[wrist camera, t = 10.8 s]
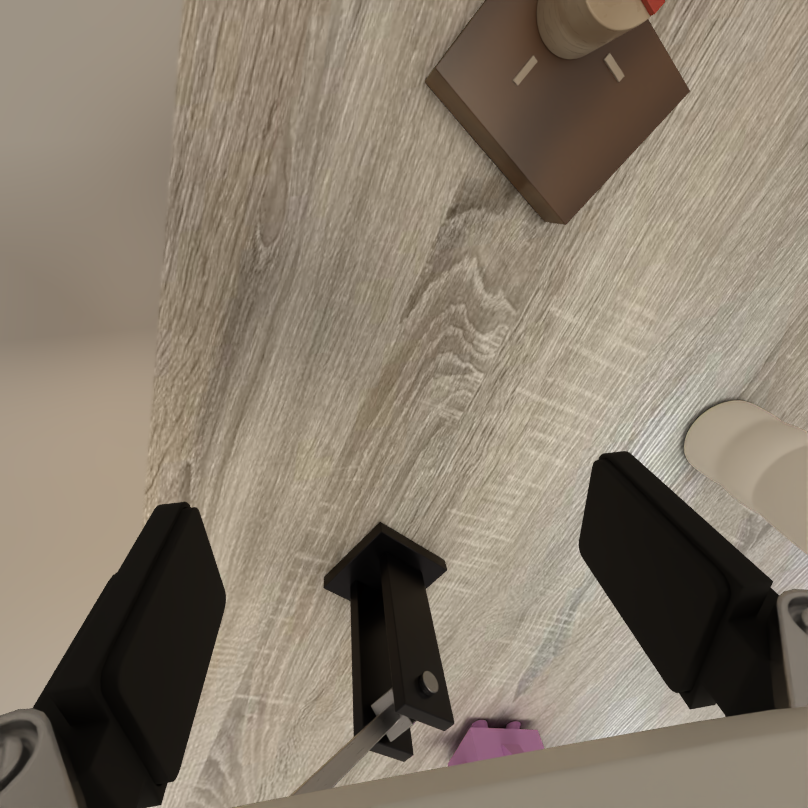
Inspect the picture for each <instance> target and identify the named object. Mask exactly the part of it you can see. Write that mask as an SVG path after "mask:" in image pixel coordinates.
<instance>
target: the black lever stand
mask: <svg viewBox="0 0 808 808" xmlns="http://www.w3.org/2000/svg"><path fill="white" fill-rule="evenodd" d="M446 571H447V568H446V564H445V561H444V560H443V559H441V558H439V557H438V556H436V555H434V554H433V553H431V552H429V551H428V550H426V549H424V548H423V547H421V546H419V545H418V544H416V543H414V542H413V541H411V540H409V539H408V538H406V537H404V536H403V535H401V534H399V533H397V532H396V531H394V530H392V529H391V528H389V527H387V526H386V525H384V524H382V523H381V522H380V523H379V524H378V525H377V526H376V527H375V528H374V529H373V530H372V531H371V532H370V533H369V534H368V535H367V536H366V537H365V538H364V539H363V540H362V541H361V542H360V543H359V544H358V545H357V546H356V547H355V548H354V549H353V550H352V551H351V552H350V553H349V554H348V555H347V556H346V557H345V558H344V559H343V560H342V561H341V562H340V563H338V564H337V565H336V566H335V567H334V568H333V569H332V570H331V571H330V572H329V573H328V574H327V575H326V576H325V577H324V588H325V589H327V590H329V591H331V592H333V593H335V594H337V595H339V596H341V597H343V598H345V599H347V600H349V601H350V603H351V643H352V684H353V724H354V737H355V736H356V735H357V734H358V733H359V732H360V731H361V730H362V729H363V728H364V727H366V726H367V725H368V724H369V723H370V722H371V721H372V720H373V719H374V718H375V717H376V715H375V713H374V711H373V709H372V707H371V705H372V704H373V703H374V702H375V701H377V700H378V699H379V698H380V697H381V696H382V695H384V694H385V693H386V692H387V691H388V690H390V689H391V688H393V698H394V707H395V712H396V713H398V714H401V715H403V716H406V717H409V718H411V719H414V720H416V721H419V722H422V723H424V724H427V725H430V726H432V727H435V728H437V729H440V730H443V731H446V730H447V729H448V728H450V727H451V726H452V725H453V724H454V718H453V714H452V709H451V705H450V700H449V695H448V691H447V686H446V681H445V677H444V672H443V667H442V663H441V658H440V653H439V649H438V644H437V640H436V635H435V630H434V626H433V621H432V616H431V612H430V607H429V602H428V598H427V593H426V588H428V587H429V586H430V585H431V584H432V583H433V582H434V581H435V580H437V579H438V578H439V577H440V576H441V575H442V574H443V573H444V572H446ZM369 751H372V752H375V753H379V754H382V755H385V756H388V757H391V758H394V759H397V760H400V761H403V762H405V761H406V760H407V759H409V758H410V757H411V756H413V747H412V739H411V731H410V728H408V729H407V730H406V731H405V732H403V733H402V734H401V735H399V736H398V737H397V738H396V739H394V740H393V741H392V742H390V740H389V738H388V737H387V735H386V734H385V735H384V736H383V737H382V738H381V739H380V740H379V741H378V742H377V743H376V744H375V745H374V746H373V747H372V748H371V749H370V750H369Z"/></svg>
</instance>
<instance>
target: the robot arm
mask: <svg viewBox="0 0 808 808" xmlns="http://www.w3.org/2000/svg"><path fill="white" fill-rule="evenodd" d="M579 550H580V553H581V556H582V558H583V559H584V561H585V562H586V564H587V565H588V567H589V568H590V570H591V571H592V573H593V575H594V576H595V578H596V579H597V581H598V582H599V584H600V585H601V587H602V588H603V590H604V591H605V593H606V594H607V596H608V597H609V599H610V600H611V602H612V603H613V605H614V606H615V608H616V609H617V611H618V612H619V614H620V615H621V617H622V618H623V620H624V621H625V623H626V624H627V626H628V627H629V629H630V630H631V632H632V633H633V635H634V636H635V638H636V639H637V641H638V642H639V644H640V645H641V647H642V648H643V650H644V651H645V653H646V654H647V656H648V657H649V659H650V660H651V662H652V663H653V665H654V666H655V668H656V669H657V671H658V672H659V674H660V675H661V677H662V678H663V680H664V681H665V683H666V684H667V686H668V687H669V688H670V689H671V690H672V691H673V692H676V693H678V692H679V694H680V695H681V697H682V698H683V700H684V701H685V703H686V704H687V706H688V707H689V709H695V708H700V707H706V706H711V705H715V704H716V703H717V705H718V706H719V707H720V709H721V710H722V711H723V713H724V714H725V717H723V718H717V719H710V720H704V721H698V722H691V723H686V724H680V725H675V726H669V727H663V728H658V729H652V730H647V731H641V732H635V733H630V734H624V735H618V736H613V737H607V738H602V739H596V740H590V741H585V742H579V743H573V744H568V745H562V746H557V747H551V748H546V749H540V750H535V751H530V752H524V753H519V754H513V755H508V756H502V757H497V758H491V759H486V760H480V761H475V762H470V763H464V764H459V765H453V766H448V767H443V768H437V769H432V770H426V771H421V772H416V773H410V774H405V775H399V776H394V777H389V778H383V779H378V780H373V781H368V782H362V783H357V784H352V785H347V786H341V787H336V788H331V789H325V790H320V791H315V792H310V793H304V794H299V795H294V796H289V797H283V798H278V799H273V800H268V801H262V802H257V803H252V804H247V805H242V806H237V807H232V808H808V590H802V589H792V590H788V591H784V592H783V593H782V594H781V595H780V596H779V595H778V594H777V593H776V592H775V591H774V590H773V589H772V588H770V587H771V585H772V583H773V581H772V580H771V579H770V578H769V577H768V576H767V575H765V574H764V573H763V572H762V571H761V570H760V569H759V568H758V567H756V566H755V565H754V564H753V563H752V562H751V561H750V560H749V559H748V558H746V557H745V556H744V555H743V554H742V553H741V552H740V551H739V550H738V549H736V548H735V547H734V546H733V545H732V544H731V543H730V542H729V541H727V540H726V539H725V538H724V537H723V536H722V535H721V534H720V533H719V532H717V531H716V530H715V529H714V528H713V527H712V526H711V525H710V524H709V523H707V522H706V521H705V520H704V519H703V518H702V517H701V516H700V515H699V514H697V513H696V512H695V511H694V510H693V509H692V508H691V507H690V506H688V505H687V504H686V503H685V502H684V501H683V500H682V499H681V498H680V497H678V496H677V495H676V494H675V493H674V492H673V491H672V490H671V489H670V488H668V487H667V486H666V485H665V484H664V483H663V482H662V481H661V480H660V479H658V478H657V477H656V476H655V475H654V474H653V473H652V472H651V471H649V470H648V469H647V468H646V467H645V466H644V465H643V464H642V463H641V462H639V461H638V460H637V459H636V458H635V457H634V456H633V455H632V454H630V453H629V452H626V451H622V452H613V453H605V454H602V455H601V456H600V457H599V460H597V461H595V462H594V463H593V466H592V472H591V477H590V483H589V488H588V494H587V499H586V505H585V511H584V516H583V522H582V527H581V533H580V538H579ZM225 604H226V594H225V589H224V586H223V583H222V580H221V577H220V574H219V571H218V568H217V564H216V561H215V558H214V555H213V552H212V549H211V546H210V543H209V540H208V537H207V534H206V531H205V528H204V524H203V521H202V518H201V515H200V512H199V510H198V509H197V508H196V507H193V508H191V507H190V505H189V504H188V503H187V502H180V503H171V504H162V505H158V506H157V507H156V508H155V509H154V511H153V513H152V514H151V516H150V518H149V520H148V521H147V523H146V525H145V526H144V528H143V530H142V531H141V533H140V535H139V537H138V538H137V540H136V542H135V543H134V545H133V547H132V549H131V550H130V552H129V554H128V555H127V557H126V559H125V560H124V562H123V564H122V565H121V567H120V569H119V571H118V572H117V573H116V574H115V575H113V576H112V578H111V579H110V580H109V581H108V583H107V584H106V586H105V588H104V589H103V591H102V593H101V594H100V596H99V598H98V599H97V601H96V603H95V604H94V606H93V608H92V610H91V611H90V613H89V615H88V616H87V618H86V620H85V621H84V623H83V625H82V626H81V628H80V630H79V631H78V633H77V635H76V636H75V638H74V640H73V641H72V643H71V645H70V646H69V648H68V650H67V651H66V653H65V655H64V656H63V658H62V660H61V661H60V663H59V665H58V666H57V668H56V670H55V671H54V673H53V675H52V677H51V678H50V680H49V681H48V683H47V685H46V686H45V688H44V690H43V692H42V693H41V695H40V697H39V698H38V700H37V702H36V703H35V705H34V707H33V708H31V709H18V710H15V711H13V712H9V713H6V714H3V715H1V716H0V808H147V807H153V806H158V805H161V803H162V800H163V797H164V793H165V790H166V786H167V783H168V782H173V781H174V780H175V779H176V777H177V775H178V773H179V770H180V767H181V764H182V760H183V757H184V753H185V749H186V746H187V742H188V739H189V735H190V731H191V728H192V724H193V721H194V717H195V713H196V710H197V706H198V703H199V699H200V695H201V692H202V688H203V685H204V681H205V677H206V674H207V670H208V667H209V663H210V660H211V656H212V652H213V649H214V645H215V642H216V638H217V634H218V631H219V627H220V624H221V620H222V616H223V613H224V609H225Z"/></svg>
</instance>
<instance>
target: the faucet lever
mask: <svg viewBox="0 0 808 808" xmlns="http://www.w3.org/2000/svg"><path fill="white" fill-rule="evenodd" d="M371 707H372V709H373V711H374V713H375V715H376V717H375V718H374V719H373V720H372V721H371V722H370V723H369V724H368V725H367V726H366V727H364V728H363V729H362V730H361V731H360V732H359V733H358V734H357V735H356V736H355V737H353V738H352V739H351V740H350V741H349V742H348V743H347V744H346V745H345V746H344V747H343V748H341V749H340V750H339V751H338V752H337V753H336V754H335V755H334V756H333V757H332V758H330V759H329V760H328V761H327V762H326V763H325V764H324V765H323V766H322V767H321V768H320V769H318V770H317V771H316V772H315V773H314V774H313V775H312V776H311V777H310V778H309V779H308V780H306V781H305V782H304V783H303V784H302V785H301V786H300V787H299V788H298V789H297V790H295V791H294V792H293V793H292V794H291V795H290V796H294V795H299V794H304V793H310V792H315V791H320V790H325V789H331V788H333V787H334V786H335V785H336V784H337V783H338V782H339V781H340V780H341V779H342V778H343V777H344V776H345V775H346V774H347V773H348V772H349V771H350V770H351V769H352V768H353V767H354V765H355V764H356V763H357V762H358V761H359V760H360V759H361V758H362V757H363V756H364V755H365V754H366V753H367V752H368V751H369V750H370V749H371V748H372V747H373V746H374V745H375V744H376V743H377V742H378V741H379V740H380V739H381V738H382V737H383V736H384V735H385V734H386V735H387V737H388V738H389V740H390V742H392V741H393V740H394V739H396V738H397V737H398V736H399V735H401V734H402V733H403V732H405V731H406V730H407V729H408V728H410V727H411V726H412V725H413V724H414V723H415V722H416V720H414V719H411V718H409V717H406V716H403V715H401V714H398V713H396V712H395V707H394V698H393V688H391V689H390V690H388V691H387V692H386V693H385V694H384V695H382V696H381V697H380V698H379V699H378V700H377V701H375V702H374V703H373V704H372V705H371Z"/></svg>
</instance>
